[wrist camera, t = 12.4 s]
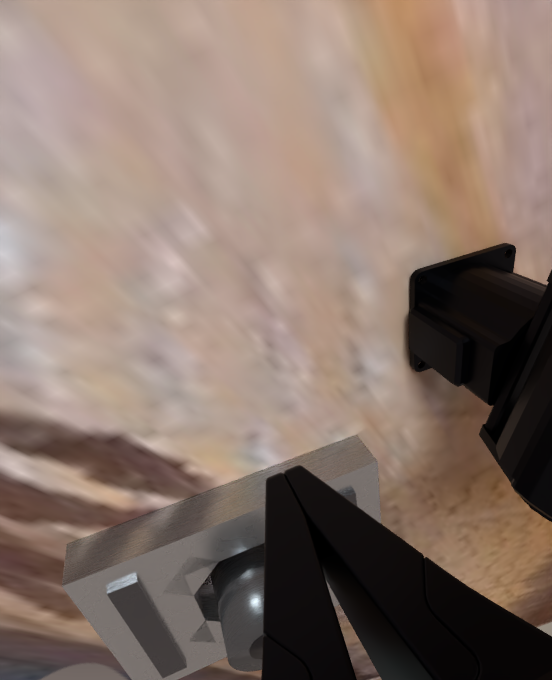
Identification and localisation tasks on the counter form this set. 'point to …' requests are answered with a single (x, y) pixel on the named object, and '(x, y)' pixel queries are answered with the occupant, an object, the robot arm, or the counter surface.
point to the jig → (190, 564)
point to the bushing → (241, 606)
